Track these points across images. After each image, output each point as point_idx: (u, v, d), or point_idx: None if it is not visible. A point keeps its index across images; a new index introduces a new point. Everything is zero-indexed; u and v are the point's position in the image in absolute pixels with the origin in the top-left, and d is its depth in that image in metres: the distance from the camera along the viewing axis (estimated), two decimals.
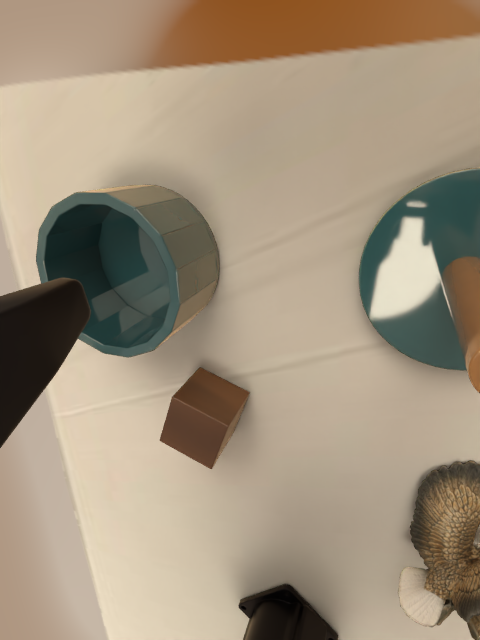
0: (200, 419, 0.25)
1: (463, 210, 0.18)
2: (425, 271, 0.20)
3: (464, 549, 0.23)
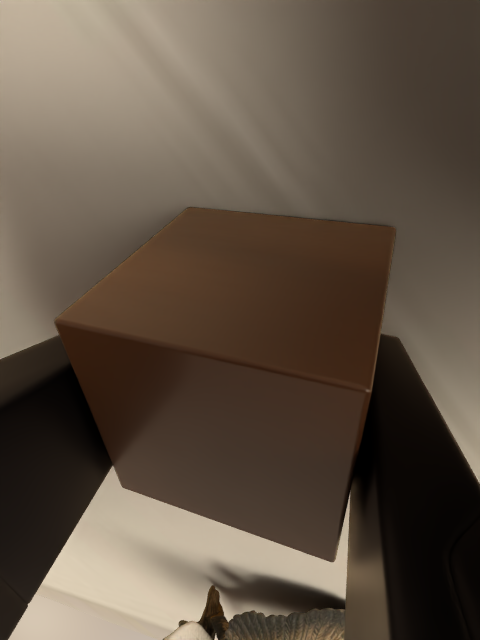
0: (303, 492, 0.05)
1: None
2: None
3: None
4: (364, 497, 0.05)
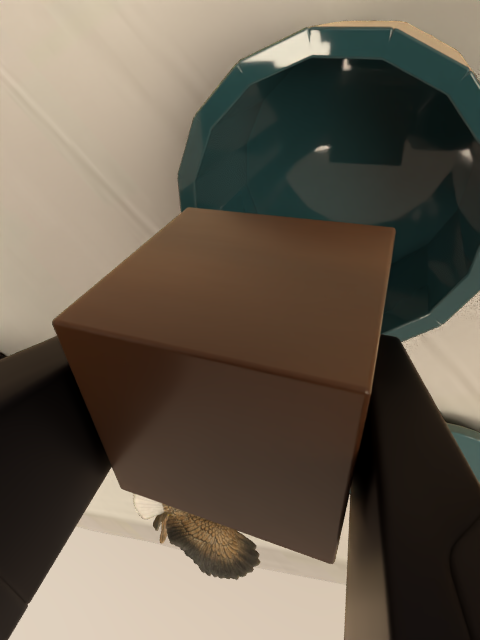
0: (301, 494, 0.05)
1: None
2: None
3: None
4: (364, 497, 0.05)
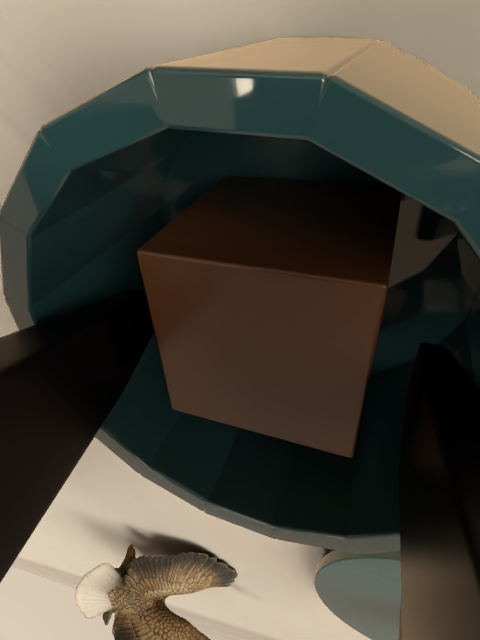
0: (330, 389, 0.07)
1: None
2: None
3: (161, 596, 0.26)
4: (430, 517, 0.05)
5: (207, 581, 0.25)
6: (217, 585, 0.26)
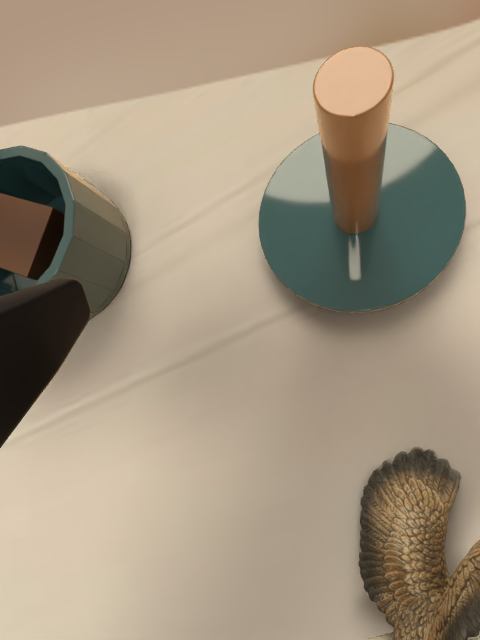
0: (24, 210, 0.22)
1: None
2: (317, 213, 0.21)
3: (434, 574, 0.16)
4: None
5: (416, 485, 0.18)
6: (450, 487, 0.18)
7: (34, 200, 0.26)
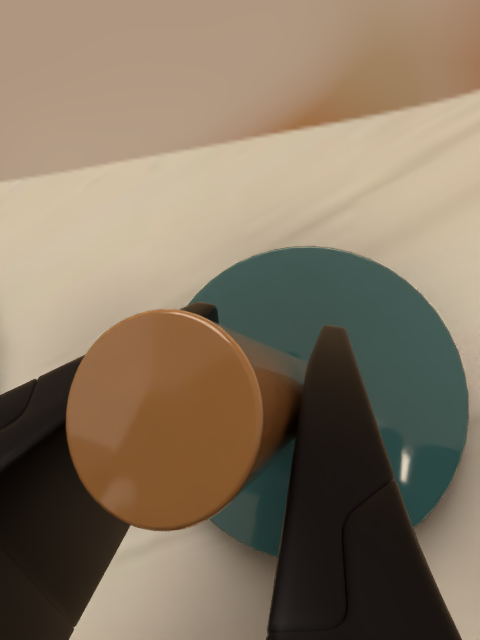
0: None
1: (274, 299, 0.14)
2: None
3: None
4: None
5: None
6: None
7: None
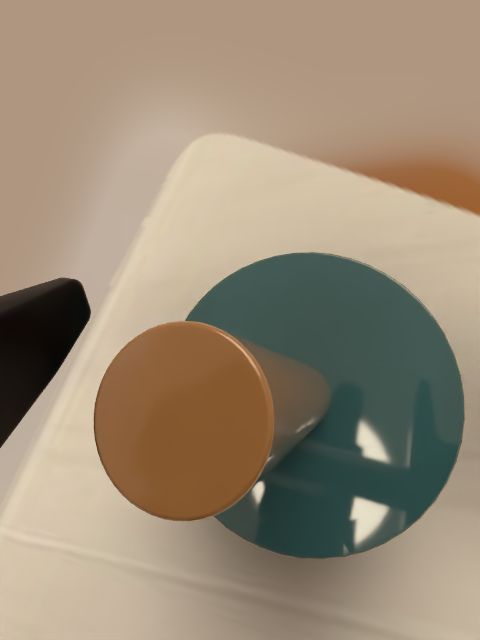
0: None
1: (276, 303, 0.14)
2: None
3: None
4: None
5: None
6: None
7: None
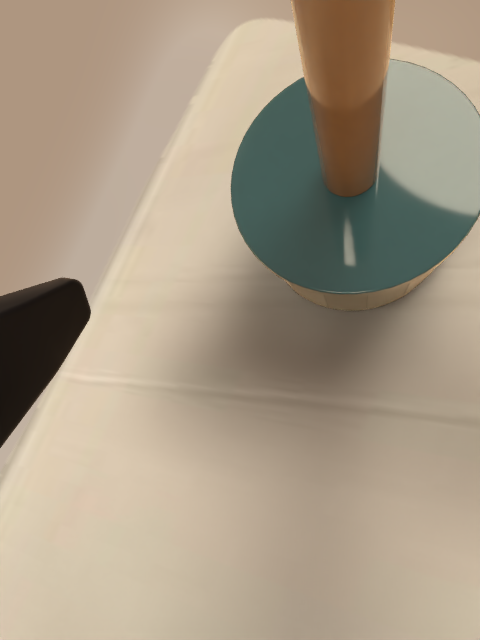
0: None
1: None
2: (303, 173, 0.17)
3: None
4: None
5: None
6: None
7: None
